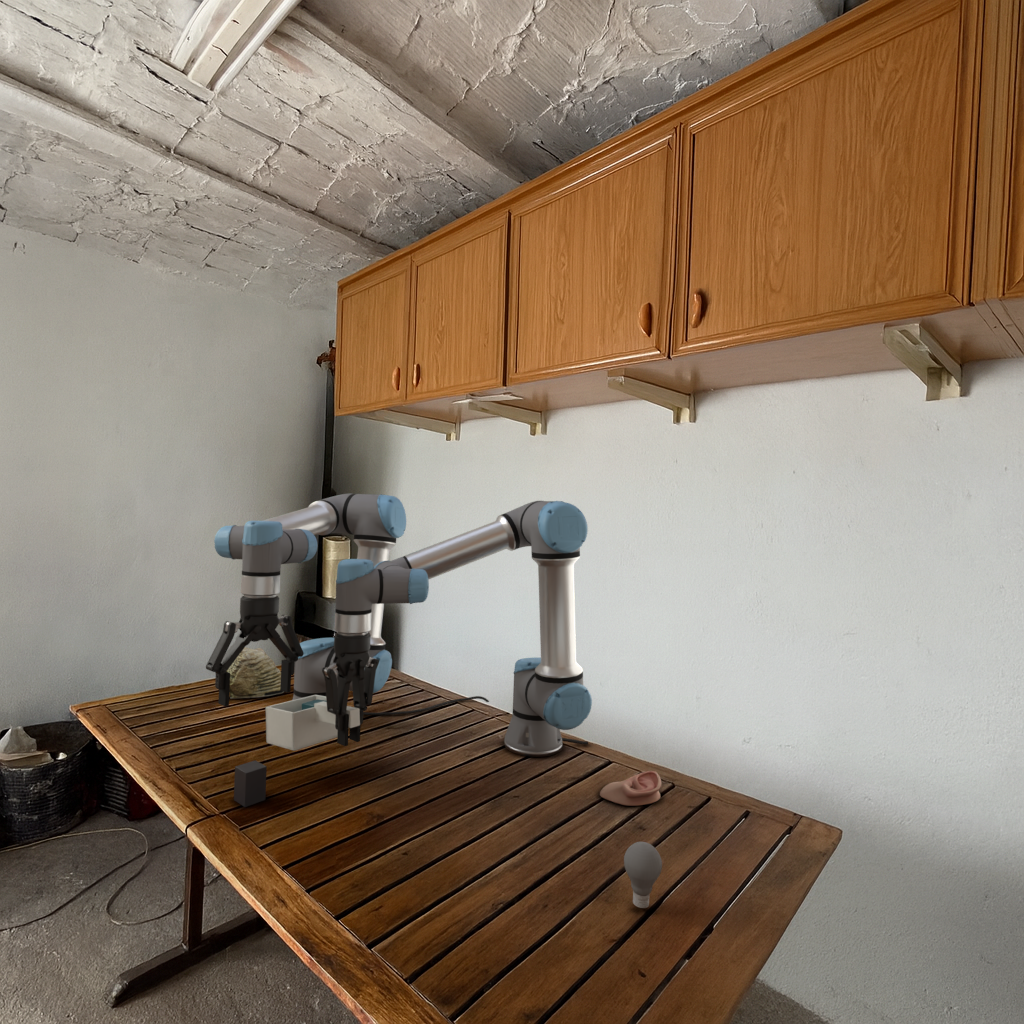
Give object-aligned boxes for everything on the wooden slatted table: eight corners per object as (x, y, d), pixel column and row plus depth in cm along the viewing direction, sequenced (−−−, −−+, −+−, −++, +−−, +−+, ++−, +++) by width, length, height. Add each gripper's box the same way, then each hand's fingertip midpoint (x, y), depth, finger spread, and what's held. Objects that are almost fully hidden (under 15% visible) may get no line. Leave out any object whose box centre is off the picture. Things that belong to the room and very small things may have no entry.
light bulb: (617, 894, 104) (620, 834, 104) (653, 893, 105) (656, 834, 105) (627, 918, 98) (630, 854, 98) (664, 917, 99) (668, 854, 99)
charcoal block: (254, 792, 134) (255, 760, 134) (265, 799, 131) (266, 766, 131) (233, 800, 131) (234, 766, 131) (244, 807, 128) (246, 773, 128)
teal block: (318, 729, 150) (317, 699, 150) (330, 731, 147) (329, 701, 148) (302, 734, 146) (301, 703, 147) (314, 736, 144) (313, 705, 144)
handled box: (316, 728, 153) (315, 691, 154) (381, 743, 138) (379, 702, 139) (266, 742, 143) (265, 703, 143) (329, 761, 128) (328, 717, 129)
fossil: (218, 695, 195) (220, 647, 195) (278, 685, 208) (279, 640, 207) (228, 703, 189) (230, 653, 188) (289, 692, 201) (290, 645, 201)
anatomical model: (599, 783, 136) (602, 762, 148) (598, 802, 136) (601, 779, 148) (662, 792, 134) (661, 769, 145) (661, 810, 134) (660, 787, 145)
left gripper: (302, 588, 143) (298, 682, 143) (190, 598, 124) (185, 706, 124) (322, 592, 138) (318, 689, 139) (208, 603, 119) (204, 715, 119)
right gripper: (370, 624, 143) (366, 728, 143) (310, 634, 131) (306, 747, 131) (392, 630, 138) (388, 737, 139) (332, 640, 126) (328, 757, 126)
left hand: (255, 697), depth 131 cm, fingers open, 13 cm apart
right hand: (348, 741), depth 135 cm, fingers closed on handled box, 2 cm apart
